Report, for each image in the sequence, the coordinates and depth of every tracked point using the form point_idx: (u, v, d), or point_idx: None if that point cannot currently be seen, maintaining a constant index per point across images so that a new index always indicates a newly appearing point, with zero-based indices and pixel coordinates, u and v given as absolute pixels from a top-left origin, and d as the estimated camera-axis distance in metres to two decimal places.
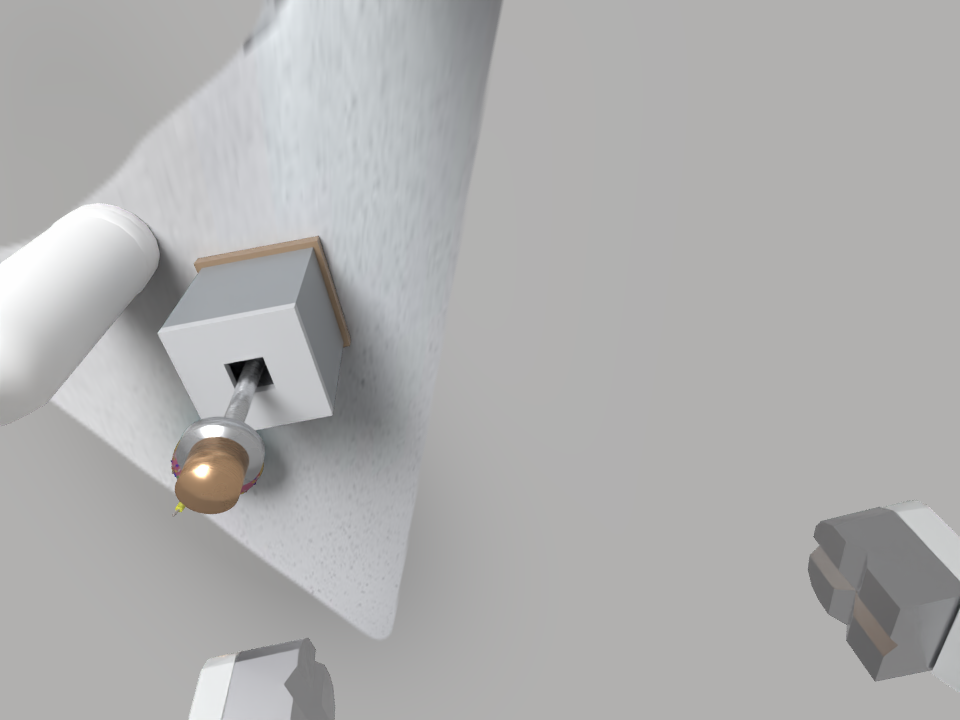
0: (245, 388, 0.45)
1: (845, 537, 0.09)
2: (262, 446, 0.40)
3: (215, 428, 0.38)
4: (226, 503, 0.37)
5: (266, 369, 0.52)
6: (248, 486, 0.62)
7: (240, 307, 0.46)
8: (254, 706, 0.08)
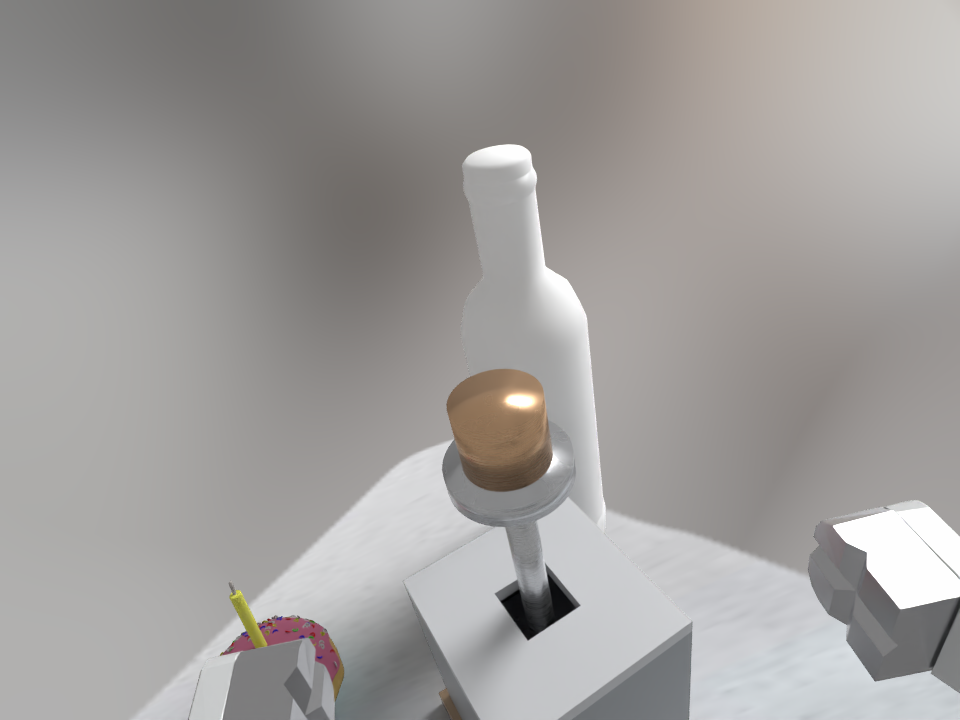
0: None
1: (845, 537, 0.09)
2: (543, 509, 0.22)
3: (564, 439, 0.24)
4: (477, 422, 0.22)
5: None
6: None
7: None
8: (254, 706, 0.08)
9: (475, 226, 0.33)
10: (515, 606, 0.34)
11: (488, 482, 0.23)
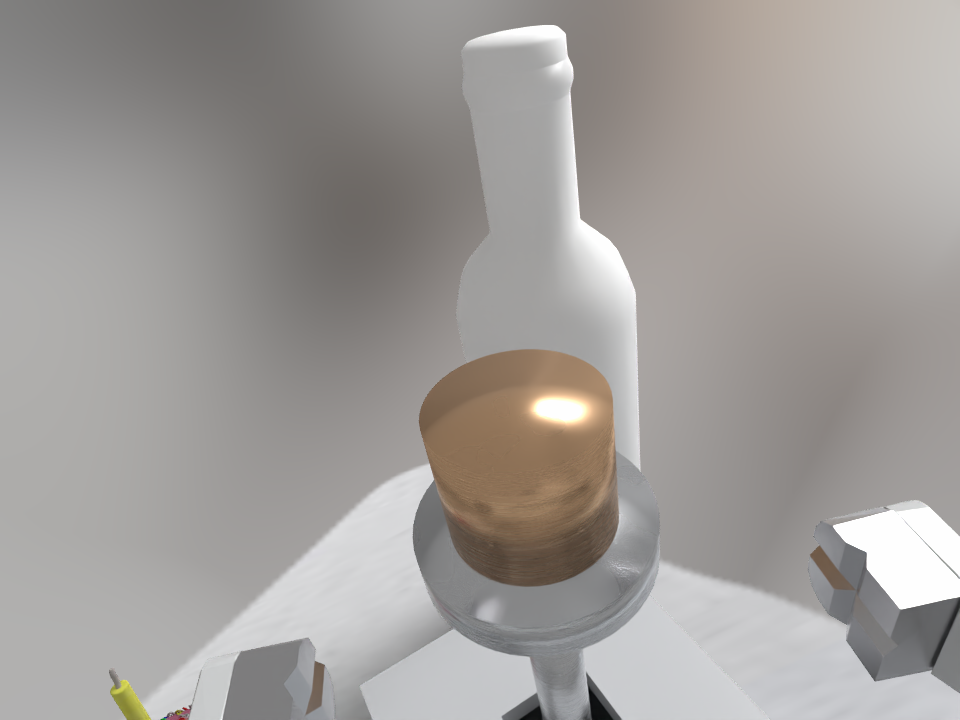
0: (587, 686, 0.17)
1: (845, 537, 0.09)
2: (606, 625, 0.11)
3: (638, 481, 0.13)
4: (478, 450, 0.10)
5: None
6: None
7: None
8: (254, 706, 0.08)
9: (479, 149, 0.22)
10: (530, 715, 0.23)
11: (498, 568, 0.12)
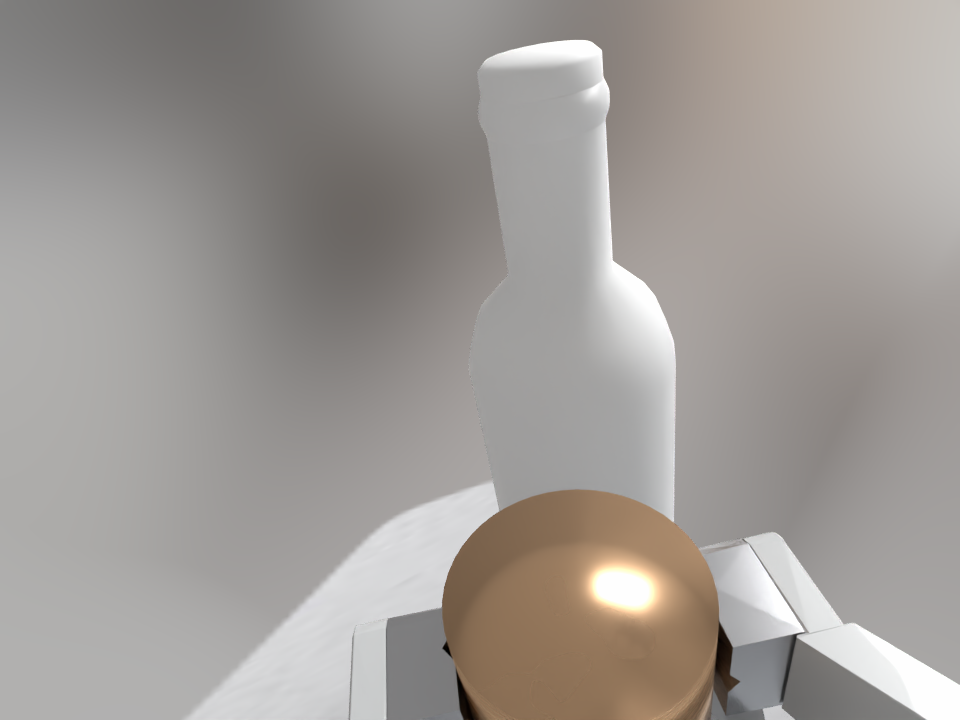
0: None
1: None
2: None
3: None
4: (531, 683, 0.07)
5: None
6: None
7: None
8: (417, 669, 0.08)
9: (498, 185, 0.19)
10: None
11: None
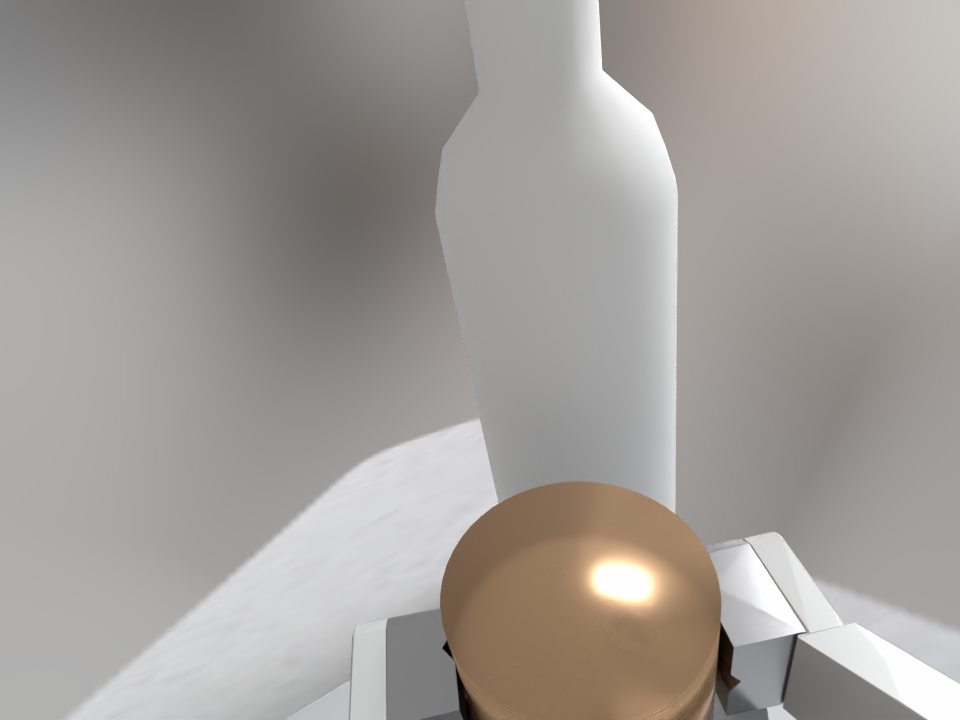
0: None
1: None
2: None
3: None
4: (531, 675, 0.07)
5: None
6: None
7: None
8: (417, 669, 0.08)
9: None
10: None
11: None
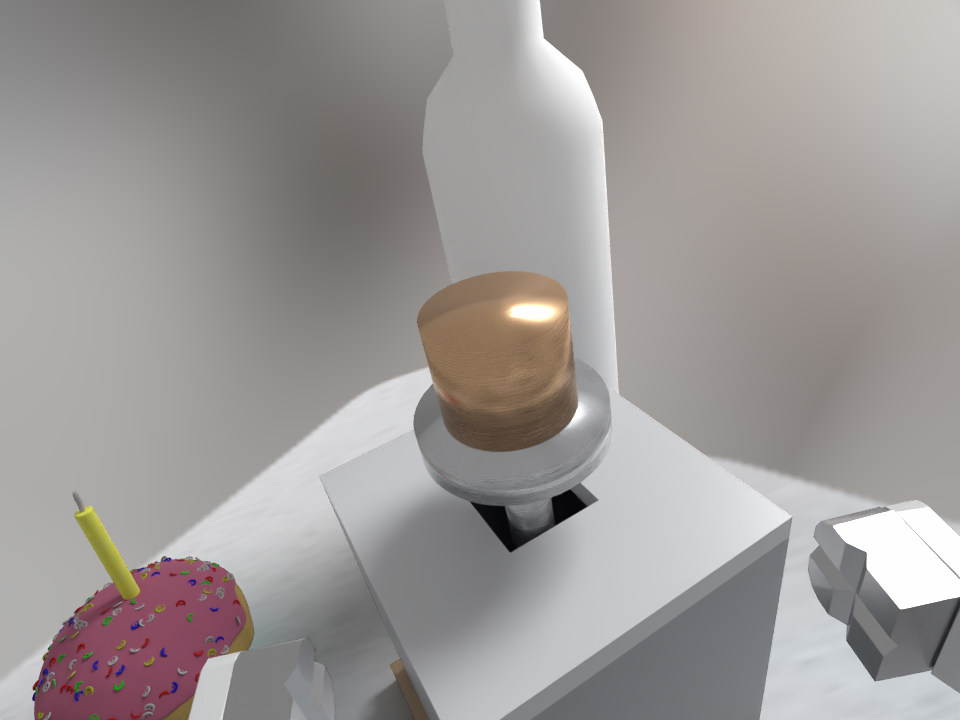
0: None
1: (845, 537, 0.09)
2: (565, 479, 0.15)
3: (595, 379, 0.17)
4: (463, 337, 0.14)
5: None
6: (62, 719, 0.23)
7: None
8: (254, 706, 0.08)
9: None
10: None
11: (481, 437, 0.15)
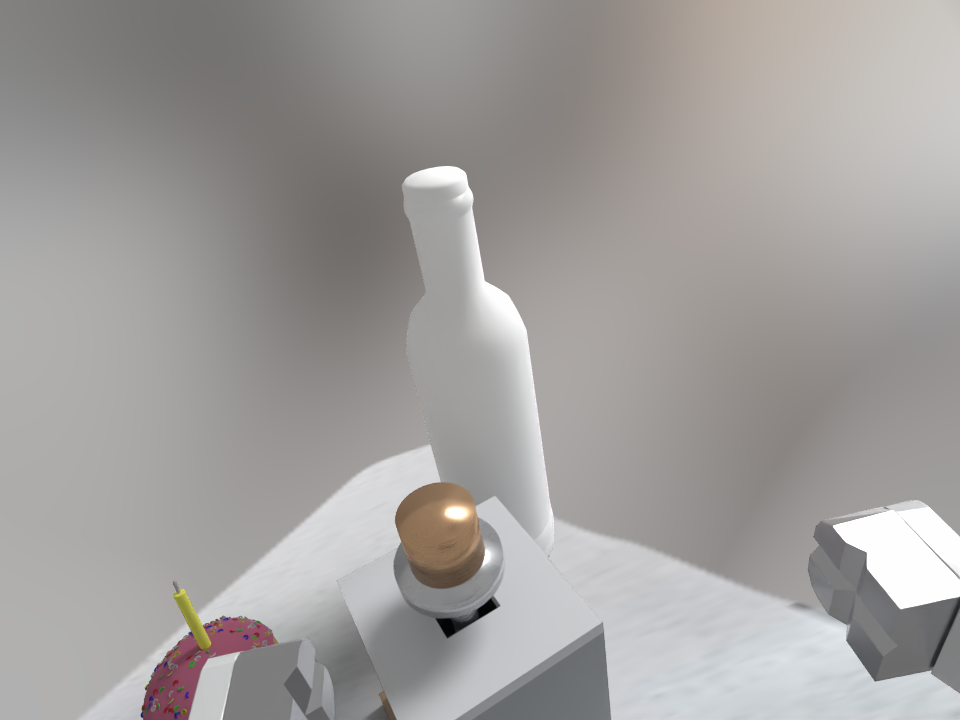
0: None
1: (845, 537, 0.09)
2: (473, 604, 0.27)
3: (496, 540, 0.29)
4: (418, 534, 0.26)
5: None
6: None
7: None
8: (254, 706, 0.08)
9: (415, 242, 0.35)
10: None
11: (428, 581, 0.27)
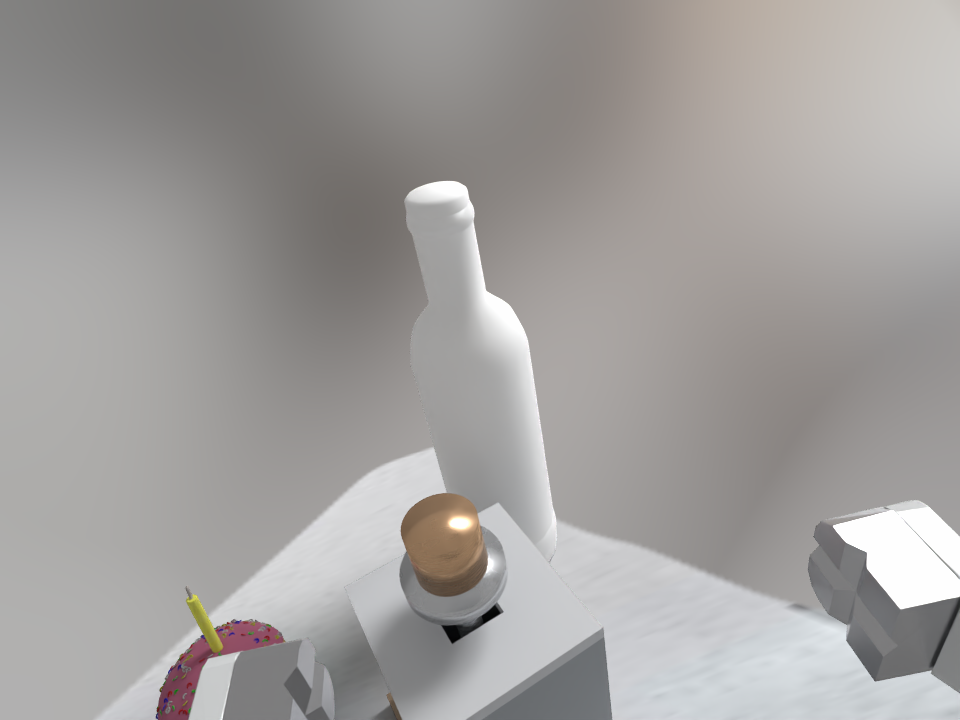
0: None
1: (845, 537, 0.09)
2: (477, 612, 0.28)
3: (499, 549, 0.30)
4: (423, 545, 0.27)
5: None
6: None
7: None
8: (254, 706, 0.08)
9: (418, 256, 0.36)
10: None
11: (433, 589, 0.28)
